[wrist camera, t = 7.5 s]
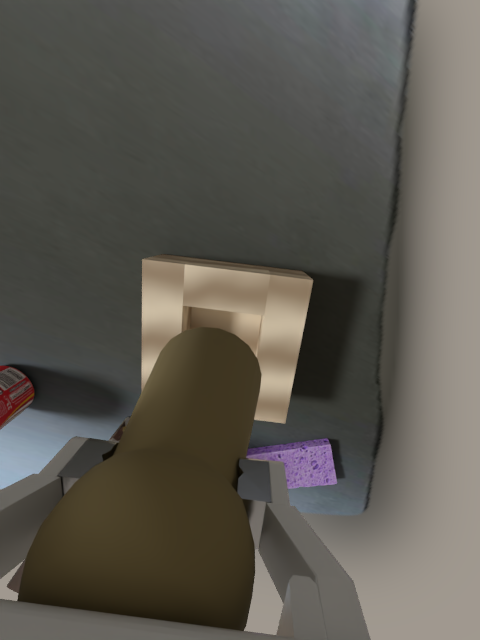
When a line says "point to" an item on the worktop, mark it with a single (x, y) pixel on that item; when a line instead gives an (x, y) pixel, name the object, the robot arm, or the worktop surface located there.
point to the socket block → (229, 315)
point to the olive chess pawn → (163, 499)
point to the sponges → (301, 461)
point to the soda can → (13, 394)
